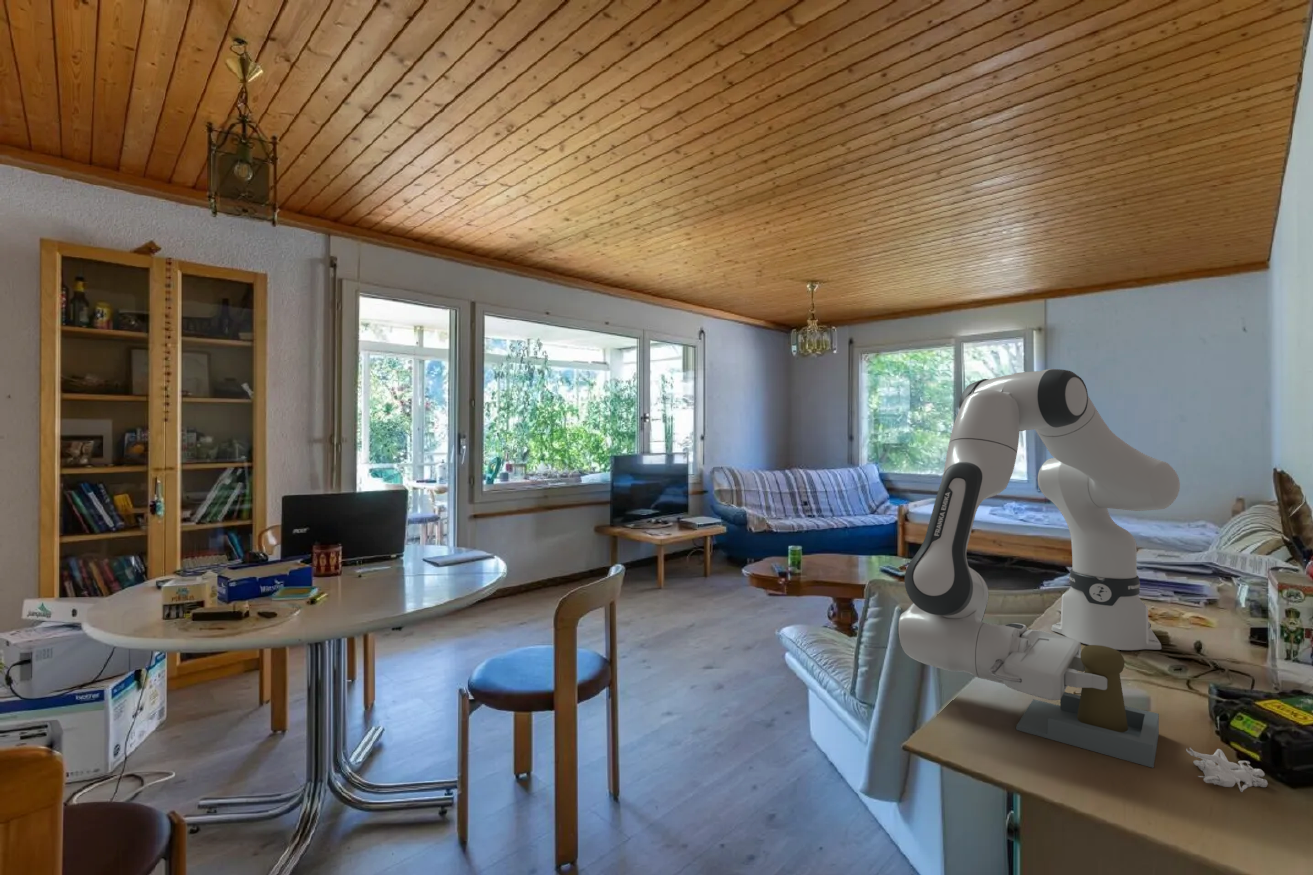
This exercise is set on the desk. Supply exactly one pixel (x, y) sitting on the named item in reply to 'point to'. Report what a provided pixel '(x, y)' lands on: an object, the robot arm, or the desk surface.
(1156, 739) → the tray
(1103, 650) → the cork
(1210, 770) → the figurine
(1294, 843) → the desk surface
